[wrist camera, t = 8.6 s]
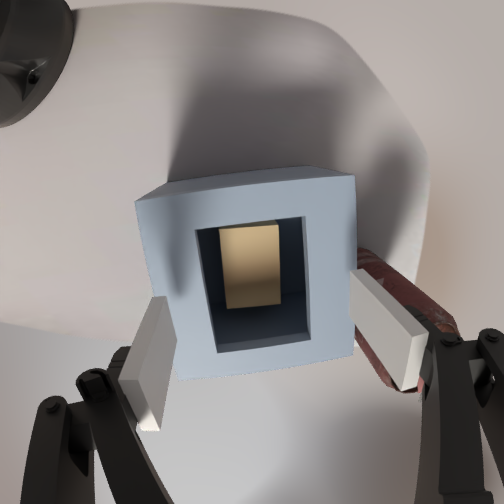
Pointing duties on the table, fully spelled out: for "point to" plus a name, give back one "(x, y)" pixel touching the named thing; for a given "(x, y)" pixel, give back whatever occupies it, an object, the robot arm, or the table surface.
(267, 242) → the wooden block
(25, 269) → the table surface
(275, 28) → the table surface
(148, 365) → the robot arm
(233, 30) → the table surface
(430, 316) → the can
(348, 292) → the coin box
